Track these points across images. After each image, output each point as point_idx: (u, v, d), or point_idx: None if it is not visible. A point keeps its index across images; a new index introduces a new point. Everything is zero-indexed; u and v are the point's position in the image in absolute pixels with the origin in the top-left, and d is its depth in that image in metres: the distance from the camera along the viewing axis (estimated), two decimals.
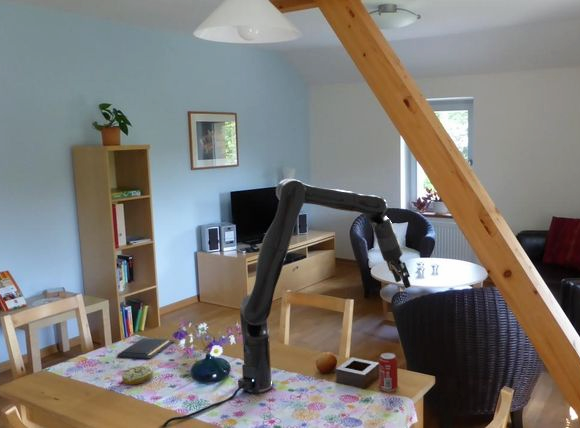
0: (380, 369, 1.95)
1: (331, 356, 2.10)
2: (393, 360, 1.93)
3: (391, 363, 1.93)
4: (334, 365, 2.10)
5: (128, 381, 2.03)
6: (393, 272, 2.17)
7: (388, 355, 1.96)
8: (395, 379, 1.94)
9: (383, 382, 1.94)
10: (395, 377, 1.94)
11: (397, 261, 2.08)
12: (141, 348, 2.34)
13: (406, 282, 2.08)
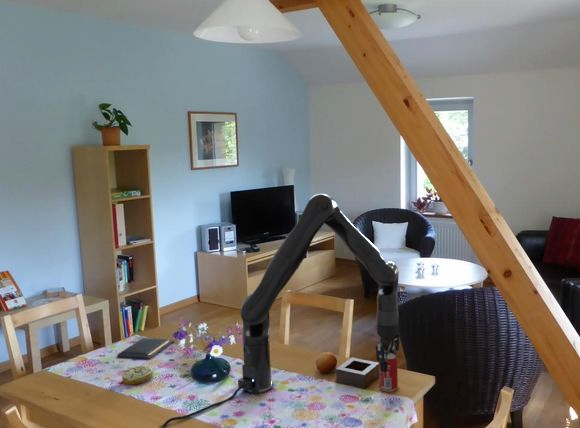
0: None
1: (331, 357, 2.10)
2: (393, 360, 1.93)
3: (391, 363, 1.93)
4: (334, 365, 2.10)
5: (128, 381, 2.03)
6: (389, 351, 1.99)
7: (388, 355, 1.96)
8: (395, 379, 1.94)
9: (383, 382, 1.94)
10: (395, 377, 1.94)
11: (382, 339, 1.91)
12: (141, 348, 2.34)
13: (381, 365, 1.92)
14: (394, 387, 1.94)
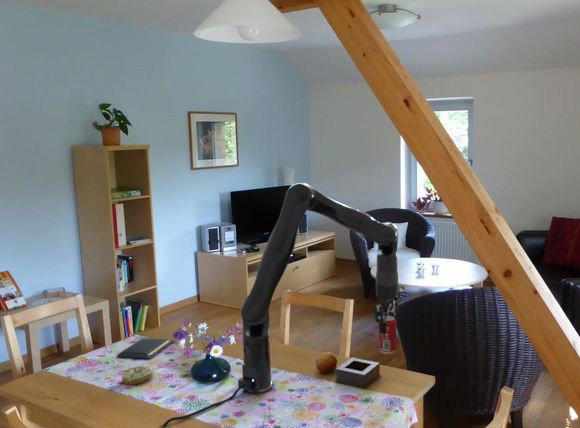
0: None
1: (331, 356, 2.10)
2: (392, 322, 1.91)
3: (390, 325, 1.91)
4: (334, 365, 2.10)
5: (128, 381, 2.03)
6: (388, 314, 1.97)
7: (387, 317, 1.94)
8: (394, 341, 1.92)
9: (382, 344, 1.92)
10: (394, 339, 1.92)
11: (381, 300, 1.89)
12: (141, 348, 2.34)
13: (380, 327, 1.90)
14: (393, 349, 1.92)
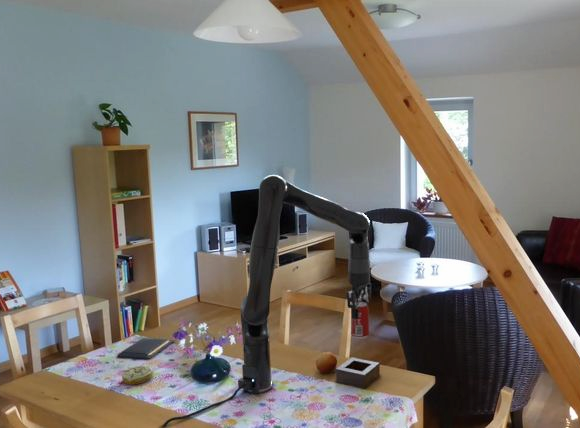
0: None
1: (331, 357, 2.10)
2: (364, 308, 1.98)
3: (362, 311, 1.97)
4: (334, 365, 2.10)
5: (128, 381, 2.03)
6: (361, 300, 2.03)
7: (360, 303, 2.01)
8: (366, 326, 1.99)
9: (354, 329, 1.99)
10: (366, 325, 1.99)
11: (353, 287, 1.96)
12: (141, 348, 2.34)
13: (352, 312, 1.97)
14: (365, 334, 1.99)
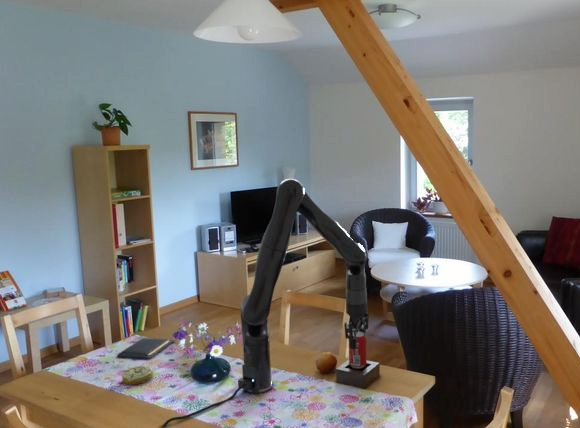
0: (349, 347, 2.02)
1: (331, 356, 2.10)
2: (362, 338, 2.01)
3: (359, 341, 2.00)
4: (334, 365, 2.10)
5: (128, 381, 2.03)
6: (359, 330, 2.06)
7: (357, 333, 2.03)
8: (364, 356, 2.02)
9: (352, 359, 2.01)
10: (364, 354, 2.02)
11: (351, 318, 1.99)
12: (141, 348, 2.34)
13: (350, 343, 1.99)
14: (363, 364, 2.02)
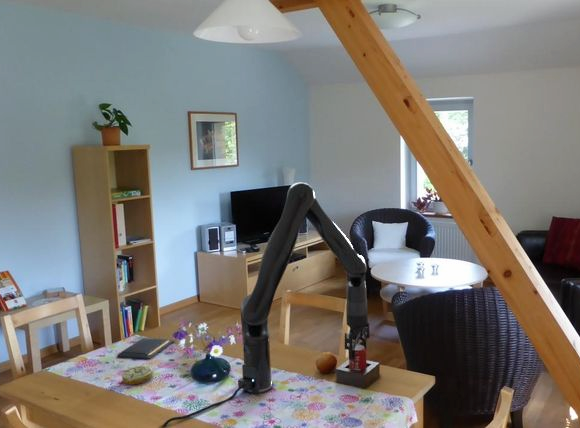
0: (350, 360, 2.03)
1: (331, 357, 2.10)
2: (362, 352, 2.01)
3: (360, 354, 2.01)
4: (334, 365, 2.10)
5: (128, 381, 2.03)
6: (360, 339, 2.07)
7: (358, 347, 2.04)
8: (364, 369, 2.02)
9: None
10: (364, 368, 2.02)
11: (351, 329, 1.99)
12: (141, 348, 2.34)
13: (349, 353, 1.99)
14: None
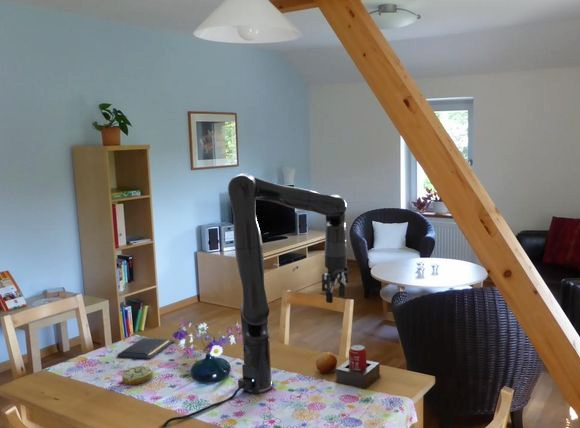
0: (350, 360, 2.03)
1: (331, 357, 2.10)
2: (362, 352, 2.01)
3: (360, 354, 2.01)
4: (334, 365, 2.10)
5: (128, 381, 2.03)
6: (339, 284, 2.00)
7: (358, 347, 2.04)
8: (364, 369, 2.02)
9: None
10: (364, 368, 2.02)
11: (329, 271, 1.92)
12: (141, 348, 2.34)
13: (327, 296, 1.92)
14: None
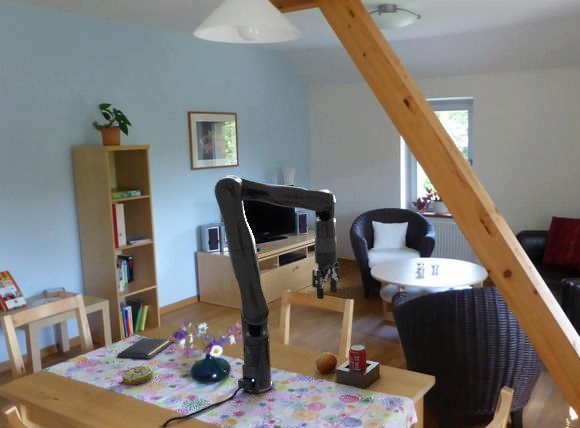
0: (350, 360, 2.03)
1: (331, 356, 2.10)
2: (362, 352, 2.01)
3: (360, 354, 2.01)
4: (334, 365, 2.10)
5: (128, 381, 2.03)
6: (330, 279, 1.98)
7: (358, 347, 2.04)
8: (364, 369, 2.02)
9: None
10: (364, 368, 2.02)
11: (319, 267, 1.90)
12: (141, 348, 2.34)
13: (318, 292, 1.90)
14: None
